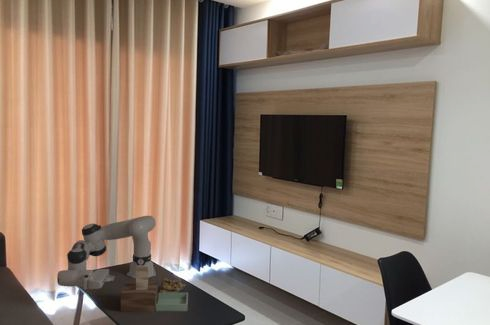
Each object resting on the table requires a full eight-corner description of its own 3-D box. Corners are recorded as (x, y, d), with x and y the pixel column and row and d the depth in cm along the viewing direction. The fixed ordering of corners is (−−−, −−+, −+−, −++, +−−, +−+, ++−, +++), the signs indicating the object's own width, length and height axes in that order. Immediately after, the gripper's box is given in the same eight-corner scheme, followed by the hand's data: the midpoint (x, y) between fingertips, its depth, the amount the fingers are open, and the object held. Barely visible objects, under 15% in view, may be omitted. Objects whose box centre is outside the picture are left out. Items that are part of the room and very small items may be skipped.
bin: (158, 299, 243) (158, 292, 242) (187, 299, 245) (188, 292, 244) (155, 311, 227) (155, 304, 227) (187, 311, 229) (187, 304, 229)
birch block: (137, 286, 235) (137, 265, 234) (148, 286, 236) (148, 265, 235) (135, 289, 230) (136, 268, 229) (146, 289, 231) (147, 268, 230)
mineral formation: (160, 288, 259) (185, 286, 261) (159, 300, 246) (185, 298, 248) (160, 276, 257) (184, 274, 259) (158, 288, 244) (184, 286, 246)
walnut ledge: (125, 299, 241) (125, 282, 240) (157, 299, 243) (157, 282, 242) (120, 311, 225) (120, 293, 224) (154, 311, 227) (155, 293, 226)
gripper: (92, 276, 240) (117, 276, 241) (83, 291, 219) (110, 291, 221) (92, 266, 239) (117, 266, 241) (83, 279, 219) (110, 279, 220)
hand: (114, 278), depth 231 cm, fingers closed
